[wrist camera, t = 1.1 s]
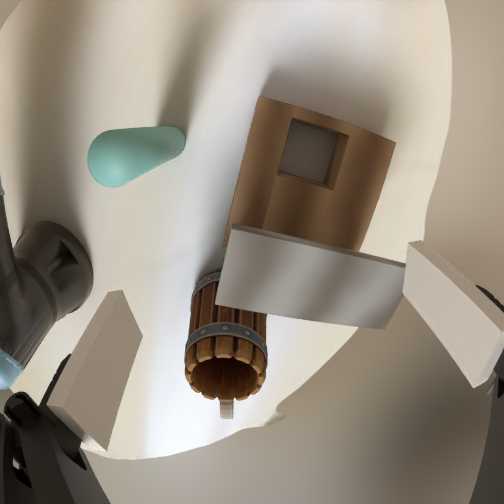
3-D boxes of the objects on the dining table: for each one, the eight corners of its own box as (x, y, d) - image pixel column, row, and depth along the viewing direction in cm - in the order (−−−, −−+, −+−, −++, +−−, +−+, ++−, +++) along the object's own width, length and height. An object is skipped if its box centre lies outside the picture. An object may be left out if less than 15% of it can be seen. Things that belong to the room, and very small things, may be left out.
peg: (150, 155, 32) (85, 183, 17) (156, 123, 30) (91, 127, 16) (181, 161, 32) (134, 191, 18) (188, 128, 31) (143, 133, 16)
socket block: (225, 234, 36) (214, 304, 23) (257, 99, 30) (268, 79, 16) (341, 259, 38) (384, 329, 25) (381, 139, 32) (457, 157, 18)
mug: (190, 265, 38) (165, 340, 25) (269, 266, 39) (282, 344, 25) (197, 349, 45) (186, 426, 31) (262, 351, 45) (268, 428, 32)
